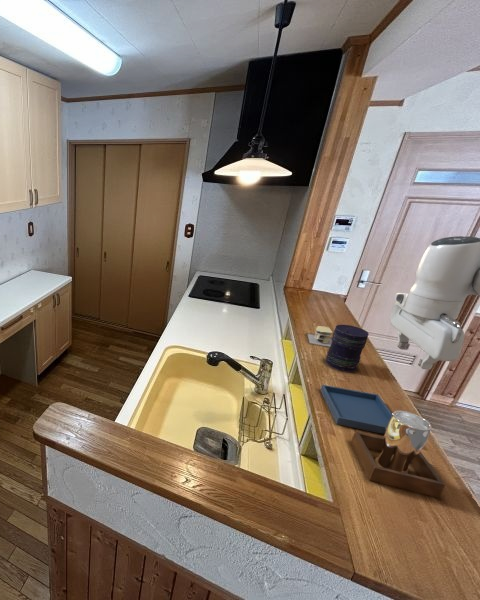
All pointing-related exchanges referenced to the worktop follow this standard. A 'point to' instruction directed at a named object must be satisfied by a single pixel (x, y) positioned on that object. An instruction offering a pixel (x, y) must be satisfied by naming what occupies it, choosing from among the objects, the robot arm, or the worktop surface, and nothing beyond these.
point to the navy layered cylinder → (346, 348)
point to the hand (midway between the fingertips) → (412, 357)
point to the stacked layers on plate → (321, 336)
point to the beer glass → (402, 440)
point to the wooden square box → (423, 484)
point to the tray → (357, 408)
